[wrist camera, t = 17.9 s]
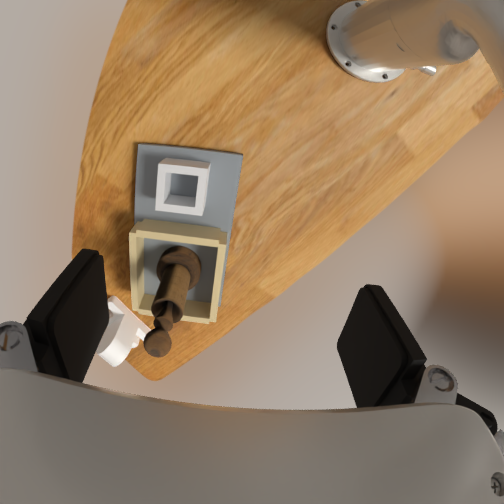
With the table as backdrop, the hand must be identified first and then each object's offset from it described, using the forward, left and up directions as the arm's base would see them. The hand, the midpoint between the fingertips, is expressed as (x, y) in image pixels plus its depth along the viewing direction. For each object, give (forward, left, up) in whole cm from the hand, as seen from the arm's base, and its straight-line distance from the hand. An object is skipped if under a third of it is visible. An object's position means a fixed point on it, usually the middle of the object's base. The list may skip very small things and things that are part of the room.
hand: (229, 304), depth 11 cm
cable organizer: (+16, +31, -33) cm, 48 cm away
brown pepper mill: (+6, +17, -31) cm, 36 cm away
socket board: (+6, +12, -32) cm, 35 cm away
